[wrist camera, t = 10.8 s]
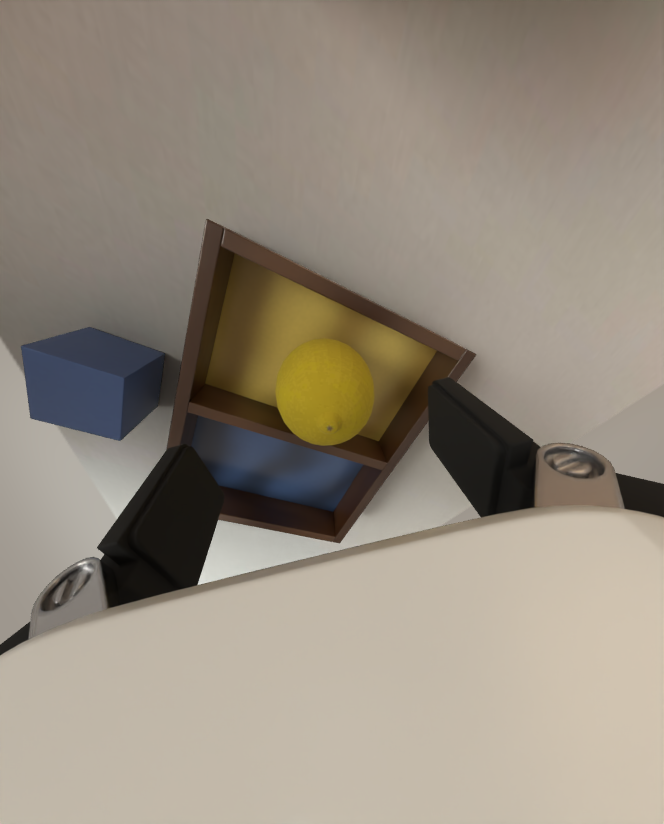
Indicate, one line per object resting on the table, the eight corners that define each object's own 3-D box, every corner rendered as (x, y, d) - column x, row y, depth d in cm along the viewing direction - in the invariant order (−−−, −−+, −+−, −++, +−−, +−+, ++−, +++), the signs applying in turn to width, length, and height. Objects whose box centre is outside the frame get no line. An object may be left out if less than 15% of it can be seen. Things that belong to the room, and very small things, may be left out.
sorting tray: (176, 475, 23) (156, 507, 20) (227, 228, 14) (205, 217, 11) (336, 511, 27) (339, 543, 24) (448, 339, 19) (476, 354, 15)
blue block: (89, 386, 18) (29, 418, 14) (89, 326, 16) (20, 345, 12) (158, 406, 19) (120, 441, 15) (165, 353, 17) (124, 378, 14)
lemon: (268, 343, 17) (241, 397, 10) (346, 313, 16) (374, 347, 9) (300, 410, 20) (296, 488, 13) (368, 386, 19) (403, 454, 12)
